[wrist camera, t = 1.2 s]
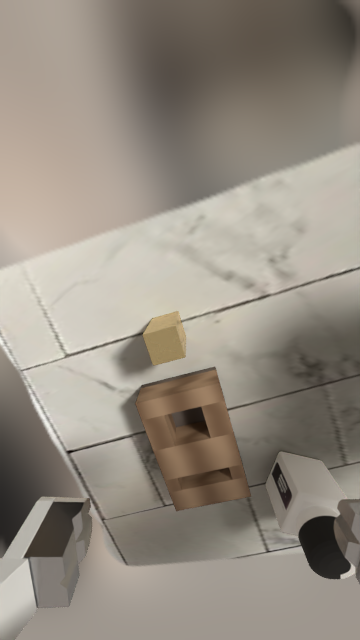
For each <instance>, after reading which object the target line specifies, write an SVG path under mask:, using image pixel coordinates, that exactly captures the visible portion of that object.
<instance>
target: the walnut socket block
mask: <svg viewBox="0 0 360 640" xmlns="http://www.w3.org/2000/svg"><path fill="white" fill-rule="evenodd" d="M135 404H136V407H137V409H138V412H139V415H140V417H141V420H142V423H143V425H144V428H145V430H146V433H147V436H148V438H149V441H150V443H151V446H152V449H153V451H154V454H155V457H156V459H157V462H158V464H159V467H160V470H161V472H162V475H163V478H164V480H165V483H166V485H167V488H168V491H169V493H170V496H171V498H172V501H173V504H174V506H175V509H176V511H179V510H184V509H189V508H194V507H199V506H205V505H210V504H215V503H220V502H225V501H230V500H235V499H240V498H246V497H251V494H250V490H249V487H248V483H247V479H246V476H245V472H244V468H243V465H242V461H241V457H240V454H239V450H238V447H237V443H236V439H235V436H234V432H233V429H232V425H231V422H230V418H229V414H228V411H227V407H226V404H225V400H224V396H223V393H222V389H221V386H220V382H219V378H218V375H217V371H216V368H215V367H212V368H208V369H204V370H200V371H196V372H192V373H188V374H184V375H180V376H176V377H172V378H168V379H164V380H160V381H156V382H153V383H149V384H145V385H142V387H141V389H140V392H139V395H138V398H137V400H136V403H135Z"/></svg>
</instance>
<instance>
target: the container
mask: <svg viewBox="0 0 360 640" xmlns="http://www.w3.org/2000/svg"><path fill="white" fill-rule="evenodd" d="M265 486H266V489H267V492H268V495H269V498H270V501H271V503H272V506H273V509H274V512H275V515H276V518H277V521H278V524H279V527H280V529H281V531H282V532H283V533H286V534H291V535H295V536H298V538H299V541H300V543H301V546H302V548H303V551H304V553H305V555H306V558H307V561H308V563H309V566H310V567H311V569H312V570H313V571H314V572H316V573H317V574H318V575H320V576H322V577H324V578H328V579H343V578H346V577H349V576H351V575H352V574H354V573H355V566H354V565H353V564H351V563H350V562H349V561H348V560H347V559H346V558H345V557H344V555H343V553H342V551H341V550H340V548H339V545H338V543H337V540H336V538H335V533H334V521H335V519H336V518H337V517H338V516H339V515H340V512H339V510H338V509H337V507H338V502H339V501H340V500H342V499H347V497H346V496H345V494H344V493H343V491H342V490H341V489H340V487H339V486H338V484H337V483H336V481H335V480H334V478H333V477H332V475H331V474H330V472H329V471H328V469H327V468H326V466H325V465H324V463H323V462H322V461H321V460H317V459H313V458H308V457H304V456H299V455H295V454H291V453H286V452H282V451H280V452H279V453H278V456H277V458H276V460H275V463H274V465H273V467H272V470H271V472H270V475H269V477H268V479H267V482H266V484H265Z"/></svg>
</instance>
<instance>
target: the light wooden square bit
mask: <svg viewBox="0 0 360 640" xmlns="http://www.w3.org/2000/svg"><path fill="white" fill-rule="evenodd" d="M143 338H144V341H145V344H146V346H147V349H148V352H149V355H150V358H151V361H152V364H153V366H154V365H158V364H162V363H166V362H169V361H173V360H177V359H181V358H185V357H186V335H185V332H184V328H183V325H182V322H181V318H180V315H179V312H178V311H176V312H173V313H169V314H166V315H162V316H159V317H155V318H152V320H151V321H150V323H149V325H148V326H147V328H146V330H145V331H144V333H143Z"/></svg>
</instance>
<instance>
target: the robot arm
mask: <svg viewBox="0 0 360 640" xmlns="http://www.w3.org/2000/svg"><path fill="white" fill-rule="evenodd" d="M90 507H91V505H90V498H69V497H41V498H40V499H39V500H38V501H37V502H36V504H35V505H34V507H33V508H32V510H31V512H30V513H29V515H28V517H27V518H26V520H25V522H24V523H23V525H22V527H21V528H20V530H19V531H18V533H17V535H16V536H15V538H14V540H13V541H12V543H11V545H10V546H9V548H8V550H7V551H6V553H5V554H4V556H3V558H0V640H15V639H16V637H17V636H18V635H19V633H20V632H21V631H22V630H23V628H24V627H25V626H26V624H27V623H28V622H29V621H30V619H31V618H32V617H33V615H34V614H35V613H36V611H37V608H53V607H69V606H70V603H71V600H72V597H73V593H74V590H75V587H76V584H77V581H78V578H79V566H78V564H79V563H80V562H81V561H82V559H83V558H84V557H85V556H86V553H87V550H88V546H89V542H90V538H91V532H92V517H91V516H90V515H89V514H88V513H89V510H90ZM337 509H338V510H339V512H340V515H339V516H338V517H337V518H336V519H335V521H334V533H335V538H336V540H337V543H338V545H339V548H340V550H341V551H342V553H343V555H344V557H345V558H346V559H347V560H348V561H349V562H350V563H351V564H353V565H354V566H355V572H356V578H357V580H358V581H359V583H360V499H342V500H340V501H339V502H338V507H337Z"/></svg>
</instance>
